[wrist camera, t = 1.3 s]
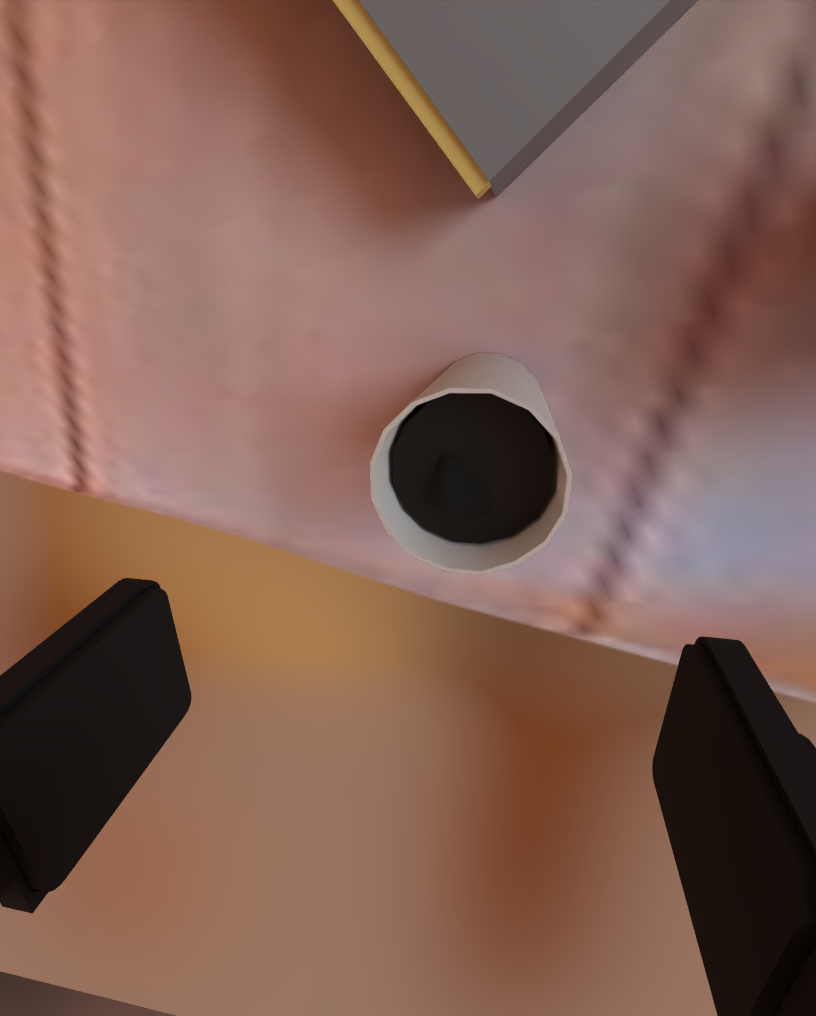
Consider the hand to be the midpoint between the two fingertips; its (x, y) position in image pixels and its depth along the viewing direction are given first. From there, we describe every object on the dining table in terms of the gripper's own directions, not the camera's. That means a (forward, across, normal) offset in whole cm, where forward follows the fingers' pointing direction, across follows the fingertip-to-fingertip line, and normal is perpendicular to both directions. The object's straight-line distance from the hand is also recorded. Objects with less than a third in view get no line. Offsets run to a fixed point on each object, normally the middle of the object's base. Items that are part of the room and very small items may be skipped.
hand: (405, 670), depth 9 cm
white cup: (+19, -1, 0) cm, 19 cm away
